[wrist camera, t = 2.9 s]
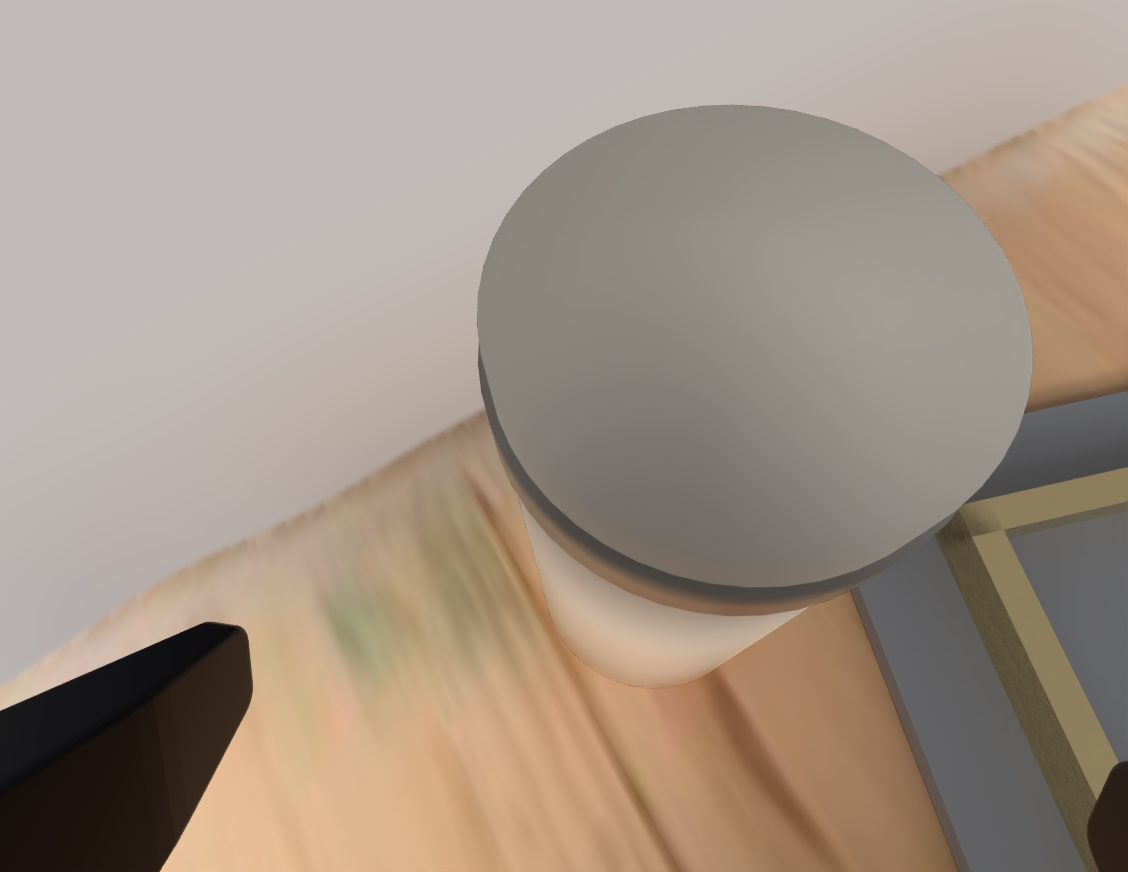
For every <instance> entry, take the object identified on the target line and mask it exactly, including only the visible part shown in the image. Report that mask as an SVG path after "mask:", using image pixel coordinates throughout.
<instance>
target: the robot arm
mask: <svg viewBox="0 0 1128 872" xmlns="http://www.w3.org/2000/svg"><path fill="white" fill-rule="evenodd" d="M252 692H253V680H252V670H251V660H250V650H249V640H248V635H247V633H246V631H245V630H244V629H243V628H242V627H240V626H238V625H231V624H225V623H218V622H204V623H202V624H199V625H197V626H195V627H192V628H190V629H188V630H185V631H183V632H181V633H179V634H176V635H174V636H172V637H169V638H167V639H165V640H162V641H160V642H158V643H155V644H153V645H151V646H149V647H146V648H144V649H142V650H139V651H137V652H135V653H132V654H130V655H128V656H126V657H123V658H121V659H119V660H116V661H114V662H112V663H109V664H107V665H105V666H102V667H100V668H98V669H96V670H93V671H91V672H89V673H86V674H84V675H82V676H79V677H77V678H75V679H73V680H70V681H68V682H66V683H63V684H61V685H59V686H56V687H54V688H52V689H49V690H47V691H45V692H43V693H40V694H38V695H36V696H33V697H31V698H29V699H26V700H24V701H22V702H20V703H17V704H15V705H13V706H10V707H8V708H6V709H3V710H1V711H0V872H160V870H161V869H162V867H163V865H164V864H165V862H166V861H167V859H168V857H169V856H170V854H171V852H172V851H173V849H174V848H175V846H176V844H177V843H178V841H179V839H180V837H181V835H182V834H183V832H184V830H185V828H186V826H187V825H188V823H189V821H190V819H191V817H192V815H193V813H194V811H195V810H196V808H197V806H198V804H199V802H200V800H201V798H202V796H203V794H204V792H205V790H206V788H207V787H208V785H209V783H210V781H211V779H212V777H213V775H214V773H215V771H216V769H217V767H218V765H219V764H220V762H221V760H222V758H223V756H224V754H225V752H226V750H227V748H228V746H229V744H230V742H231V741H232V739H233V737H234V735H235V733H236V731H237V729H238V727H239V725H240V723H241V721H242V719H243V717H244V716H245V714H246V712H247V709H248V707H249V705H250V702H251V698H252ZM1087 839H1088V844H1089V848H1090V851H1091V854H1092V856H1093V859H1094V862H1095V864H1096V867H1097V869H1098V872H1128V761H1123V762H1119V763H1118V764H1116V765H1115V766H1114V767H1113V768H1112V770H1111V771H1110V773H1109V775H1108V778H1107V780H1106V782H1105V784H1104V786H1103V788H1102V791H1101V793H1100V795H1099V797H1098V799H1097V801H1096V803H1095V806H1094V808H1093V810H1092V812H1091V814H1090V816H1089V819H1088V824H1087Z"/></svg>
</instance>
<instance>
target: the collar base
mask: <svg viewBox="0 0 1128 872" xmlns="http://www.w3.org/2000/svg"><path fill="white" fill-rule="evenodd" d="M850 591H851V594H852V597H853V599H854V602H855V604H856V607H857V609H858V612H859V615H860V617H861V620H862V622H863V625H864V628H865V630H866V633H867V635H868V638H869V640H870V643H871V646H872V648H873V651H874V653H875V656H876V659H877V661H878V664H879V666H880V669H881V671H882V674H883V677H884V679H885V682H886V684H887V687H888V690H889V692H890V695H891V697H892V700H893V702H894V705H895V708H896V710H897V713H898V715H899V718H900V721H901V723H902V726H903V728H904V731H905V733H906V736H907V739H908V741H909V744H910V746H911V749H912V752H913V754H914V757H915V759H916V762H917V764H918V767H919V770H920V772H921V775H922V777H923V780H924V783H925V785H926V788H927V790H928V793H929V795H930V798H931V801H932V803H933V806H934V808H935V811H936V814H937V816H938V819H939V821H940V824H941V827H942V829H943V832H944V834H945V837H946V839H947V842H948V845H949V847H950V850H951V852H952V855H953V858H954V860H955V863H956V865H957V868H958V870H959V872H1098V869H1097V867H1096V864H1095V862H1094V859H1093V856H1092V854H1091V851H1090V848H1089V844H1088V839H1087V824H1088V819H1089V816H1090V814H1091V812H1092V810H1093V808H1094V806H1095V803H1096V801H1097V799H1098V797H1099V795H1100V793H1101V791H1102V788H1103V786H1104V784H1105V782H1106V780H1107V778H1108V775H1109V773H1110V771H1111V770H1112V768H1113V767H1114V766H1115V765H1116V764H1118V763H1119V762H1123V761H1128V391H1124V392H1119V393H1115V394H1110V395H1106V396H1101V397H1097V398H1092V399H1087V400H1083V401H1078V402H1074V403H1069V404H1065V405H1060V406H1055V407H1051V408H1046V409H1042V410H1037V411H1032V412H1028V413H1024V414H1023V417H1022V420H1021V423H1020V426H1019V429H1018V432H1017V433H1016V435H1015V437H1014V439H1013V441H1012V443H1011V445H1010V447H1009V449H1008V450H1007V452H1006V454H1005V456H1004V458H1003V460H1002V461H1001V462H1000V464H999V465H998V466H997V468H996V469H995V470H994V472H993V473H992V474H991V475H990V477H989V478H988V479H987V481H986V482H985V483H984V484H983V486H982V487H981V488H980V489H979V490H978V491H977V492H976V493H975V494H973V495H972V496H971V497H970V498H969V499H968V500H967V501H966V502H965V503H964V504H963V505H962V506H961V507H960V508H959V509H958V511H957V512H956V513H955V515H954V516H953V517H952V519H951V520H950V521H949V522H948V523H947V524H946V525H945V526H944V527H943V528H942V529H941V530H939V531H938V532H937V533H936V534H935V535H934V536H933V537H932V538H931V539H930V540H929V541H928V542H927V543H925V544H924V545H923V546H921V547H920V548H918V549H917V550H915V551H914V552H912V553H911V554H909V555H908V556H906V557H905V558H904V559H902V560H901V561H899V562H898V563H896V564H895V565H893V566H891V567H890V568H888V569H886V570H885V571H883V572H881V573H880V574H878V575H877V576H875V577H873V578H872V579H870V580H868V581H867V582H865V583H863V584H862V585H860V586H858V587H856V588H854V589H852V590H850Z"/></svg>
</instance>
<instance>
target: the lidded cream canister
mask: <svg viewBox="0 0 1128 872" xmlns="http://www.w3.org/2000/svg"><path fill="white" fill-rule="evenodd" d="M477 327H478V335H479V354H478V366H479V375H480V384H481V392H482V396H483V400H484V404H485V407H486V411H487V415H488V419H489V422H490V426H491V429H492V433H493V436H494V439H495V443H496V446H497V450H498V453H499V457H500V459H501V462H502V464H503V466H504V469H505V471H506V473H507V475H508V478H509V480H510V482H511V485H512V486H513V488H514V489H515V491H516V493H517V494H518V498H519V502H520V505H521V509H522V513H523V517H524V521H525V524H526V528H527V532H528V536H529V540H530V544H531V547H532V551H533V555H534V559H535V563H536V566H537V570H538V574H539V578H540V582H541V585H542V589H543V593H544V597H545V600H546V604H547V608H548V611H549V614H550V617H551V619H552V622H553V624H554V626H555V628H556V630H557V632H558V633H559V635H560V637H561V638H562V640H563V641H564V642H565V644H566V645H567V646H568V648H569V649H570V650H571V651H572V652H573V653H574V654H575V655H576V656H577V657H578V658H579V659H580V660H581V661H582V662H583V663H585V664H586V665H587V666H588V667H590V668H591V669H592V670H594V671H596V672H597V673H599V674H601V675H603V676H604V677H606V678H609V679H611V680H614V681H616V682H619V683H622V684H626V685H630V686H633V687H641V688H667V687H674V686H679V685H682V684H685V683H689V682H692V681H694V680H696V679H698V678H700V677H702V676H705V675H706V674H708V673H709V672H711V671H712V670H714V669H715V668H717V667H719V666H720V665H722V664H723V663H725V662H726V661H728V660H729V659H731V658H732V657H734V656H735V655H737V654H738V653H740V652H741V651H743V650H745V649H746V648H748V647H749V646H751V645H752V644H754V643H755V642H757V641H758V640H760V639H761V638H763V637H764V636H766V635H767V634H769V633H771V632H772V631H774V630H775V629H777V628H778V627H780V626H781V625H783V624H784V623H786V622H787V621H789V620H790V619H792V618H793V617H795V616H797V615H798V614H800V613H801V612H803V611H804V610H806V609H807V608H809V607H810V606H812V605H815V604H819V603H822V602H825V601H828V600H831V599H833V598H835V597H837V596H839V595H841V594H844V593H846V592H848V591H850V590H852V589H854V588H856V587H858V586H860V585H862V584H863V583H865V582H867V581H868V580H870V579H872V578H873V577H875V576H877V575H878V574H880V573H881V572H883V571H885V570H886V569H888V568H890V567H891V566H893V565H895V564H896V563H898V562H899V561H901V560H902V559H904V558H905V557H906V556H908V555H909V554H911V553H912V552H914V551H915V550H917V549H918V548H920V547H921V546H923V545H924V544H925V543H927V542H928V541H929V540H930V539H931V538H932V537H933V536H934V535H935V534H936V533H937V532H938V531H939V530H941V529H942V528H943V527H944V526H945V525H946V524H947V523H948V522H949V521H950V520H951V519H952V517H953V516H954V515H955V513H956V512H957V511H958V509H959V508H960V507H961V506H962V505H963V504H964V503H965V502H966V501H967V500H968V499H969V498H970V497H971V496H972V495H973V494H975V493H976V492H977V491H978V490H979V489H980V488H981V487H982V486H983V484H984V483H985V482H986V481H987V479H988V478H989V477H990V475H991V474H992V473H993V472H994V470H995V469H996V468H997V466H998V465H999V464H1000V462H1001V461H1002V460H1003V458H1004V456H1005V454H1006V452H1007V450H1008V449H1009V447H1010V445H1011V443H1012V441H1013V439H1014V437H1015V435H1016V433H1017V432H1018V429H1019V426H1020V423H1021V420H1022V417H1023V414H1024V411H1025V408H1026V405H1027V402H1028V397H1029V390H1030V383H1031V376H1032V369H1033V361H1032V335H1031V329H1030V324H1029V318H1028V313H1027V307H1026V304H1025V301H1024V298H1023V295H1022V292H1021V289H1020V287H1019V284H1018V281H1017V278H1016V275H1015V274H1014V272H1013V270H1012V268H1011V266H1010V264H1009V262H1008V260H1007V258H1006V256H1005V254H1004V252H1003V250H1002V248H1001V247H1000V245H999V244H998V242H997V241H996V239H995V238H994V237H993V235H992V234H991V232H990V231H989V229H988V228H987V226H986V225H985V223H984V222H983V221H982V220H981V219H980V218H979V216H978V215H977V214H976V213H975V212H974V211H973V210H972V208H971V207H970V206H969V205H968V204H967V203H966V202H965V201H964V199H963V198H962V197H960V196H959V195H958V194H957V193H956V192H955V191H954V190H953V189H952V188H950V187H949V186H948V185H947V184H946V183H945V182H944V181H943V180H942V179H940V178H939V177H938V176H937V175H935V174H934V173H932V172H931V171H929V170H928V169H927V168H926V167H924V166H923V165H921V164H920V163H919V162H917V161H916V160H915V159H913V158H911V157H910V156H908V155H906V154H905V153H903V152H901V151H899V150H898V149H896V148H894V147H893V146H891V145H889V144H887V143H886V142H883V141H881V140H879V139H877V138H875V137H872V136H870V135H868V134H866V133H864V132H861V131H859V130H857V129H854V128H852V127H849V126H846V125H843V124H840V123H837V122H834V121H831V120H828V119H825V118H821V117H817V116H813V115H809V114H805V113H801V112H797V111H791V110H784V109H777V108H770V107H763V106H744V105H716V106H699V107H691V108H684V109H676V110H670V111H666V112H662V113H658V114H653V115H649V116H645V117H642V118H639V119H636V120H633V121H630V122H627V123H624V124H621V125H618V126H616V127H613V128H611V129H609V130H607V131H605V132H603V133H601V134H599V135H597V136H594V137H592V138H590V139H588V140H587V141H585V142H583V143H582V144H580V145H579V146H577V147H575V148H574V149H572V150H570V151H569V152H567V153H566V154H564V155H563V156H562V157H560V158H559V159H558V160H557V161H555V162H554V163H553V164H552V165H550V166H549V167H548V168H547V169H545V170H544V171H543V172H542V173H541V174H540V175H539V176H538V177H537V178H536V179H535V180H534V181H533V182H532V183H531V184H530V185H529V187H527V189H525V190H524V192H523V193H522V194H521V196H520V197H519V198H518V200H517V201H516V202H515V204H514V205H513V206H512V208H511V209H510V210H509V212H508V213H507V214H506V216H505V218H504V220H503V222H502V224H501V226H500V227H499V229H498V231H497V233H496V235H495V237H494V239H493V241H492V244H491V247H490V250H489V252H488V255H487V258H486V261H485V263H484V267H483V272H482V277H481V282H480V287H479V292H478V312H477Z"/></svg>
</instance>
